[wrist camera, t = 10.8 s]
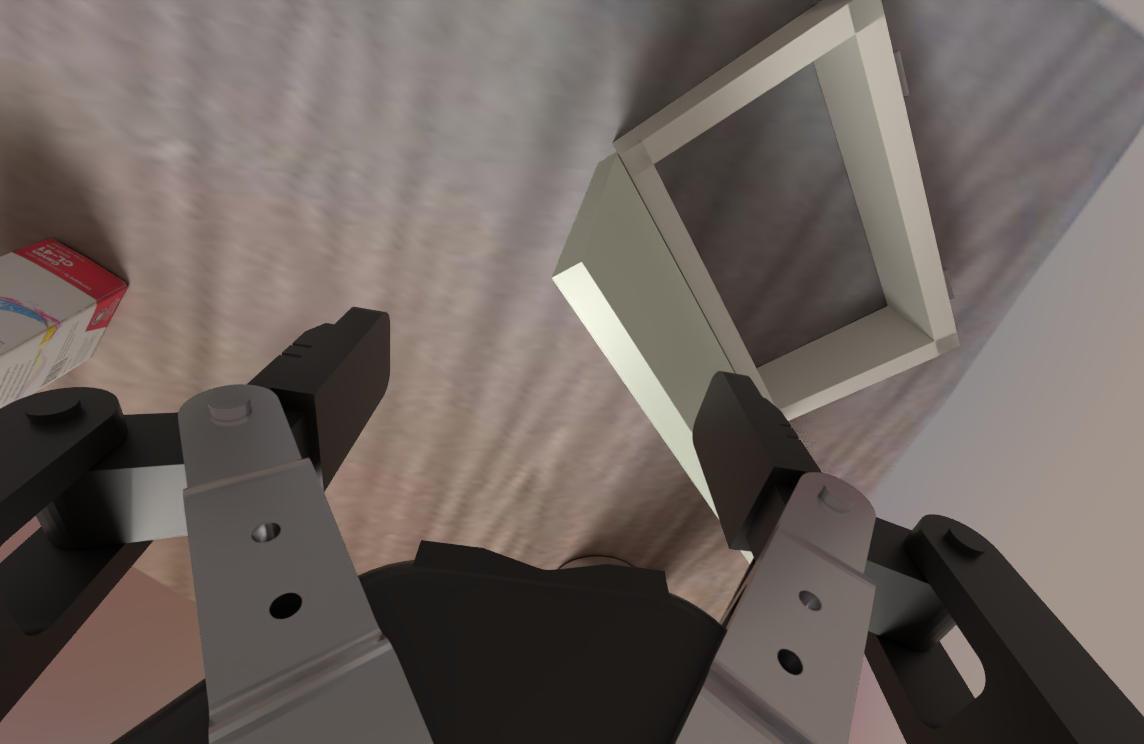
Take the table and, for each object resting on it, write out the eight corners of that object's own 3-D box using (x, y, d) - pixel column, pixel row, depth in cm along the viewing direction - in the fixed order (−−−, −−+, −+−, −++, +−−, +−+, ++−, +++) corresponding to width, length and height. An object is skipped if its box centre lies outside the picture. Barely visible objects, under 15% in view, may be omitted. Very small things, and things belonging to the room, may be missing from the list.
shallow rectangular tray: (919, 306, 32) (971, 341, 28) (728, 394, 36) (749, 437, 32) (835, -9, 23) (892, -27, 19) (594, 154, 27) (598, 170, 23)
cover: (813, 622, 22) (792, 625, 23) (768, 436, 32) (753, 440, 32) (581, 261, 13) (551, 277, 13) (616, 151, 22) (598, 163, 23)
